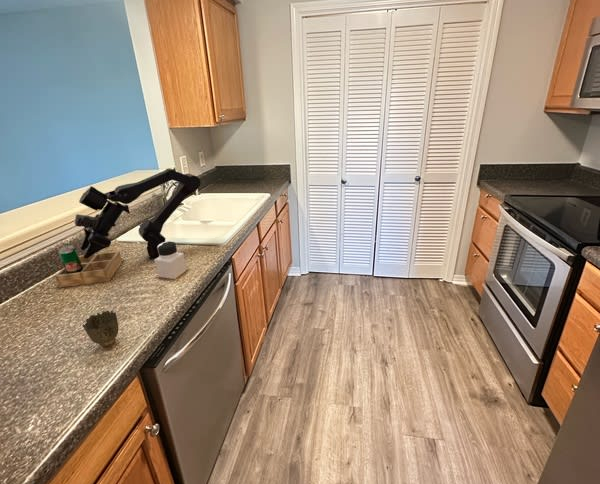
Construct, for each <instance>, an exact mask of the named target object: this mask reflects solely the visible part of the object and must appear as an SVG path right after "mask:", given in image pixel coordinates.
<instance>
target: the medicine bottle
mask: <svg viewBox="0 0 600 484" xmlns="http://www.w3.org/2000/svg"><path fill="white" fill-rule="evenodd" d="M176 244H177V243H176V242H175V241H165V242H163V243H161V244H159V245H158V247H157V248H158V252H159V257H158V258H156V259H154V264H155V267H156V272H157V275H158V278H164V279H169V280H176V279H177V278H178V277H179V276H181V275H182V274H184V273H185V272H186V271H188V270H187V269H188V268H187V264H186V260H185V259H186V258H185V255H184V253H183V252H178V249H177V245H176Z"/></svg>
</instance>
